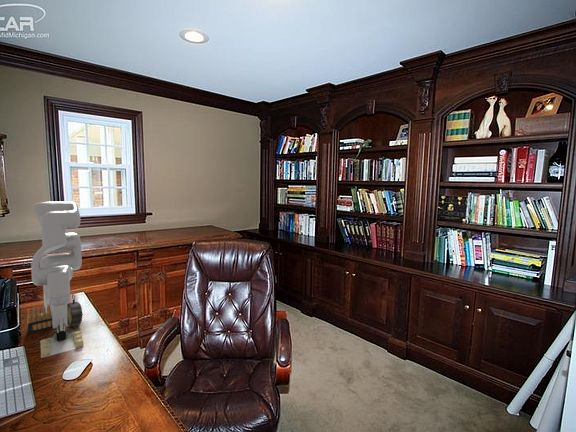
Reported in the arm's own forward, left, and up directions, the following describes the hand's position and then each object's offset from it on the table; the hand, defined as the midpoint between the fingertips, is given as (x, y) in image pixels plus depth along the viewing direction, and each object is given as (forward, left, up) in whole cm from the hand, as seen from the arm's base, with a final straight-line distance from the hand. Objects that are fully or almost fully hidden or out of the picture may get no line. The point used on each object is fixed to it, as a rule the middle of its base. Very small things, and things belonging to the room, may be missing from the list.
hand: (61, 339), depth 129 cm
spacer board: (+2, 0, -1) cm, 2 cm away
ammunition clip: (-19, -6, -2) cm, 20 cm away
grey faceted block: (-4, 0, -1) cm, 4 cm away
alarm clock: (-14, +6, -2) cm, 15 cm away
